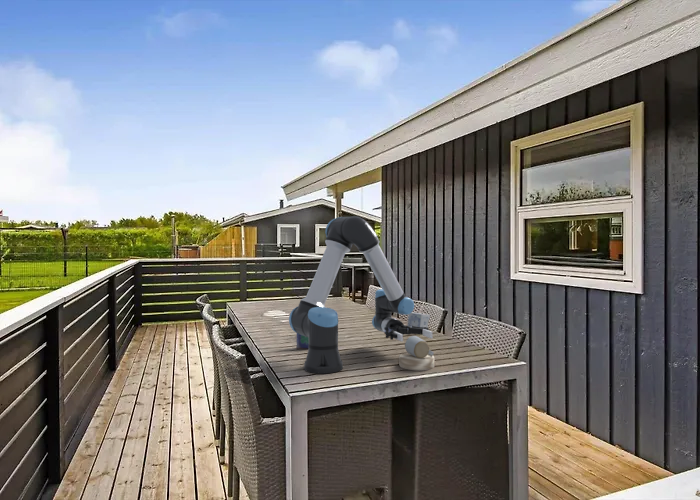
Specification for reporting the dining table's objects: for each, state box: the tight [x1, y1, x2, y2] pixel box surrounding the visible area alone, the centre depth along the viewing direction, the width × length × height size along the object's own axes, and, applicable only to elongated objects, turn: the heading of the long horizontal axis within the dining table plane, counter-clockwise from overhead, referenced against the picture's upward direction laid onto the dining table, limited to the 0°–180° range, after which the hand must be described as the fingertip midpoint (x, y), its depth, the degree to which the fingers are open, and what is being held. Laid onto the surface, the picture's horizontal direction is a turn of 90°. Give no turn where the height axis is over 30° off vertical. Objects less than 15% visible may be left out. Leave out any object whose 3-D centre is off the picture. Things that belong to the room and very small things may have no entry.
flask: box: [296, 333, 309, 350], centre depth 219 cm, size 9×3×11 cm, turn 80°
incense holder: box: [406, 311, 431, 328], centre depth 257 cm, size 10×8×10 cm
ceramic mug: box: [404, 335, 434, 358], centre depth 189 cm, size 11×8×8 cm
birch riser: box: [398, 352, 435, 371], centre depth 189 cm, size 14×14×4 cm
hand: (417, 336), depth 189 cm, fingers open, 13 cm apart
